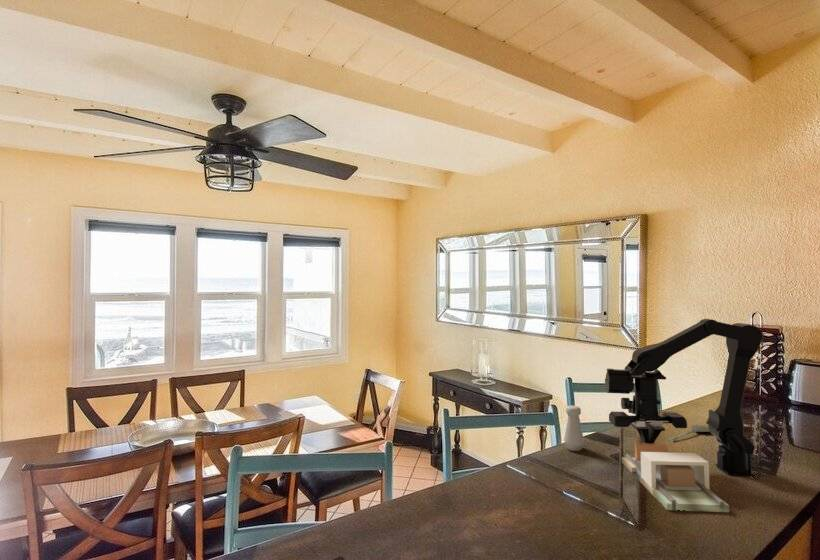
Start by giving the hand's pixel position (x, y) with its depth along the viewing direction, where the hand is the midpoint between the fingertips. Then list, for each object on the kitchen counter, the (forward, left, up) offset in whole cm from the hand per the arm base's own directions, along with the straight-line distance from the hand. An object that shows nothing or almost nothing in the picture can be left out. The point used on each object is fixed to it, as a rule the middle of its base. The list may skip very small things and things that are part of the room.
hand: (647, 450), depth 122 cm
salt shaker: (+17, -11, -4) cm, 21 cm away
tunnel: (0, +15, -2) cm, 15 cm away
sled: (0, +10, -2) cm, 10 cm away
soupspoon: (-24, -26, -5) cm, 35 cm away
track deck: (0, +12, -4) cm, 13 cm away
